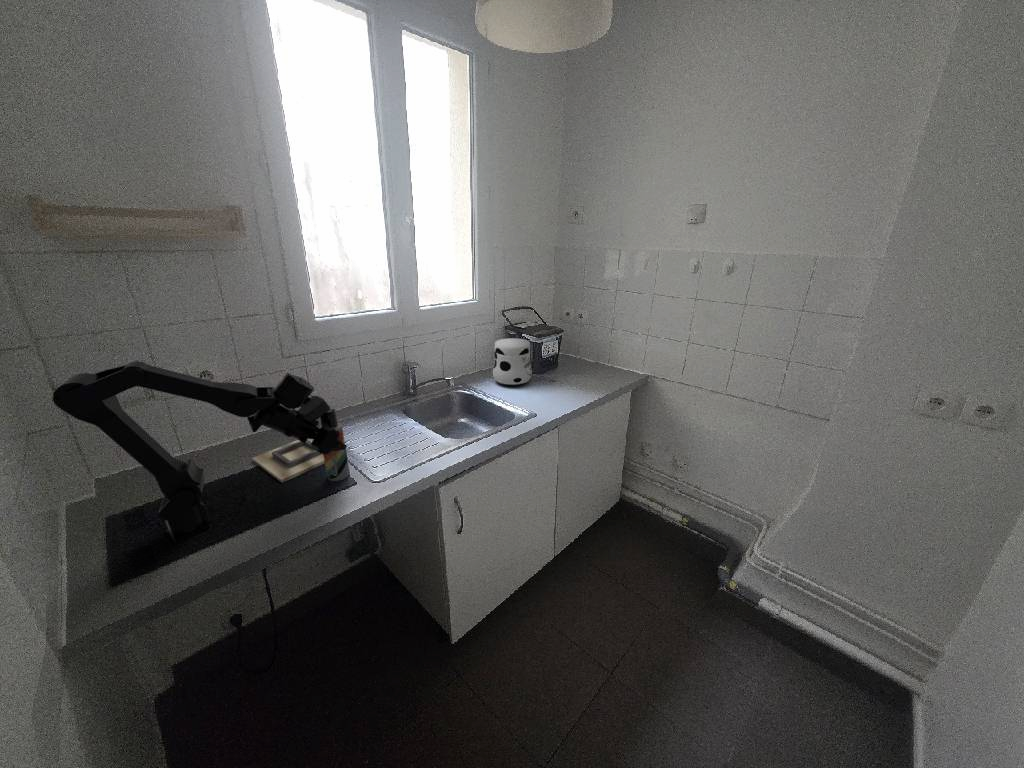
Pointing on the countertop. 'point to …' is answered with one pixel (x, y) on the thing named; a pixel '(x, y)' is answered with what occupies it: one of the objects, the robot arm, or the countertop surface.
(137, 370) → the robot arm
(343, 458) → the lotion bottle
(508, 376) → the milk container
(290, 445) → the port board
